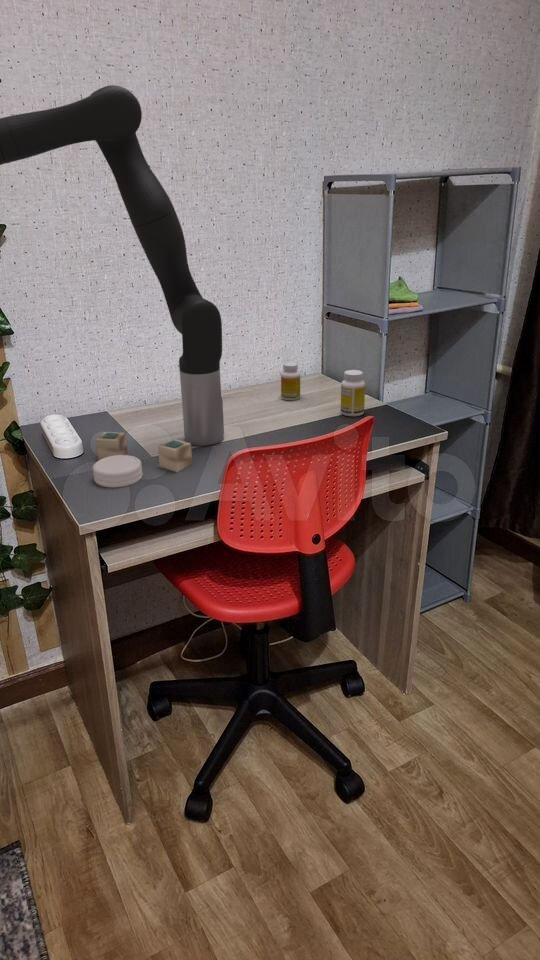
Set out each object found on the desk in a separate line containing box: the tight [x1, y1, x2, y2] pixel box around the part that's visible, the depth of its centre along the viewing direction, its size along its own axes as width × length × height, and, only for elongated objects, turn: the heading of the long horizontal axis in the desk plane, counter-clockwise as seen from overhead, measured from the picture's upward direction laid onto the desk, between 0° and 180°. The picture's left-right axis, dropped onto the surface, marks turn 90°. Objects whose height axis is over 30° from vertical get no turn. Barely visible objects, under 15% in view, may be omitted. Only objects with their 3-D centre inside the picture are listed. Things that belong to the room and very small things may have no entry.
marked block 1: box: [95, 431, 129, 461], centre depth 151 cm, size 5×5×5 cm
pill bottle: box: [340, 369, 366, 417], centre depth 174 cm, size 6×6×11 cm
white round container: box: [92, 454, 143, 488], centre depth 141 cm, size 10×10×4 cm
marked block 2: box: [157, 438, 193, 473], centre depth 146 cm, size 5×5×5 cm
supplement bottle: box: [280, 361, 301, 401], centre depth 187 cm, size 5×5×10 cm
